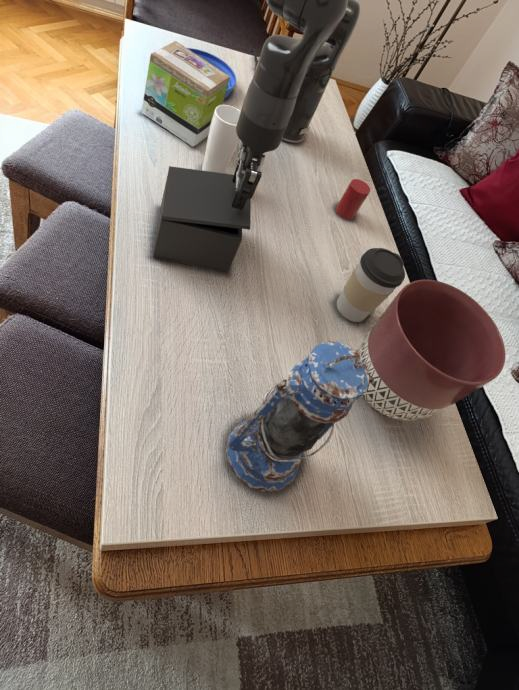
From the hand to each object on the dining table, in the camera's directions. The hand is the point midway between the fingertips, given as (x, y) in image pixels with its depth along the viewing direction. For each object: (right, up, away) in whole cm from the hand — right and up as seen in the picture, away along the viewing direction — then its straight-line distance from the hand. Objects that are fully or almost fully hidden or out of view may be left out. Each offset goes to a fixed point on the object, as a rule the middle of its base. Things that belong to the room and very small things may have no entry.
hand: (237, 194), depth 91 cm
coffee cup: (+23, -20, +14) cm, 33 cm away
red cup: (+25, +5, +31) cm, 40 cm away
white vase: (-7, +11, +22) cm, 26 cm away
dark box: (-9, -6, +9) cm, 15 cm away
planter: (+27, -36, +4) cm, 45 cm away
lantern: (+5, -45, -11) cm, 46 cm away
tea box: (-15, +25, +28) cm, 41 cm away
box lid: (-5, -1, +1) cm, 5 cm away
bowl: (-12, +42, +41) cm, 60 cm away
